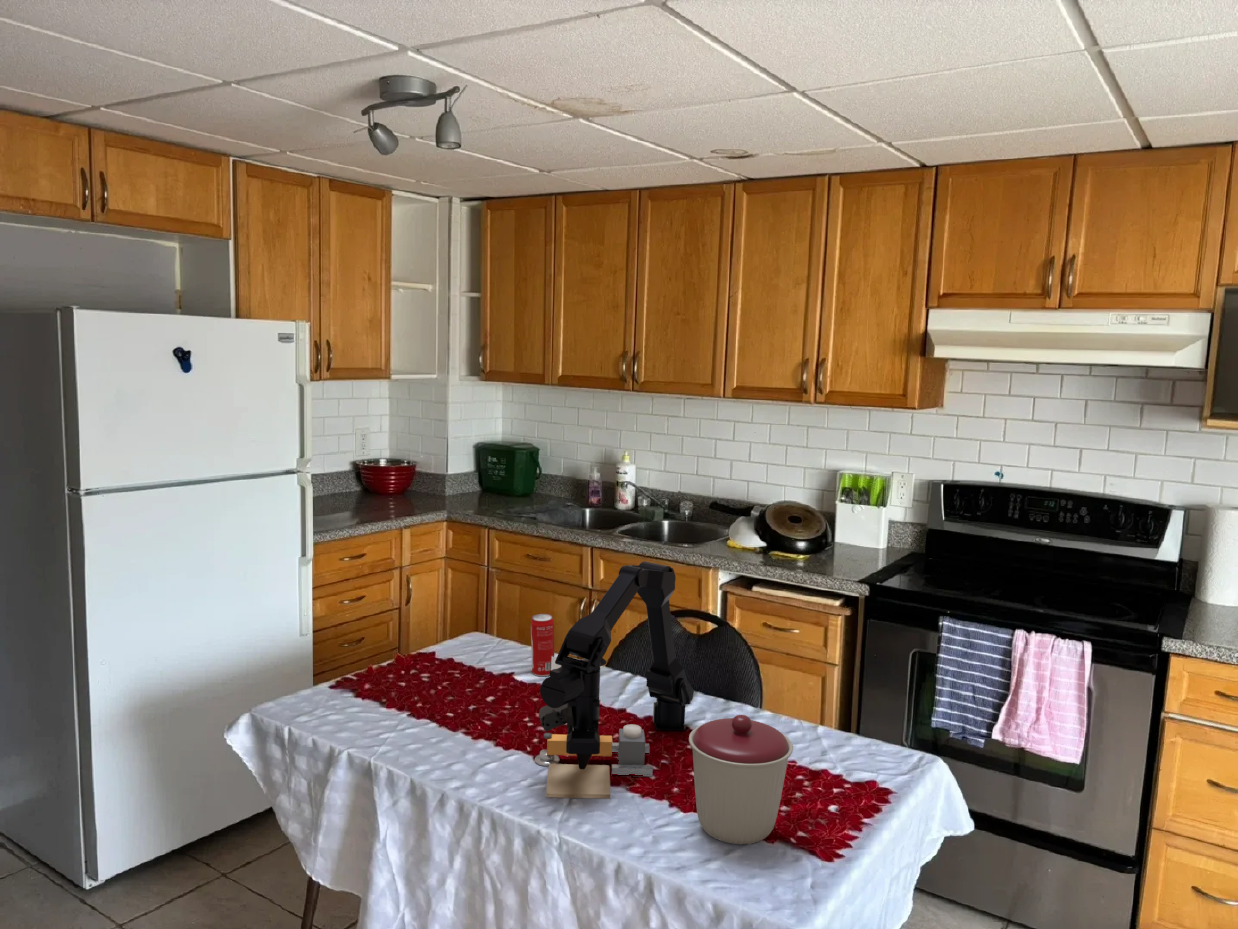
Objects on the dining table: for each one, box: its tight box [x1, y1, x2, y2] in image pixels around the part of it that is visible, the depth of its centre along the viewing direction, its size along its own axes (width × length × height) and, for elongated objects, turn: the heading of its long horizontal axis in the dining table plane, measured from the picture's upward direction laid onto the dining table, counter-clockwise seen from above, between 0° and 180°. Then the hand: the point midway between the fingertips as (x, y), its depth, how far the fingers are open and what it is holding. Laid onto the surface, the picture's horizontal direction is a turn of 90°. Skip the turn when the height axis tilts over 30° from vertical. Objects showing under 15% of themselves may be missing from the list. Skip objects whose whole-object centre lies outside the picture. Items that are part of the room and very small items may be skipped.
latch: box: [543, 732, 613, 757], centre depth 189 cm, size 14×3×4 cm, turn 92°
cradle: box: [534, 742, 654, 777], centre depth 190 cm, size 24×12×2 cm, turn 92°
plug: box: [617, 724, 646, 765], centre depth 190 cm, size 5×6×8 cm
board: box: [545, 763, 611, 800], centre depth 181 cm, size 12×12×1 cm
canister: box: [688, 714, 794, 845], centre depth 165 cm, size 18×18×21 cm
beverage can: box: [530, 613, 555, 677], centre depth 237 cm, size 6×6×15 cm
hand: (582, 768), depth 182 cm, fingers closed
